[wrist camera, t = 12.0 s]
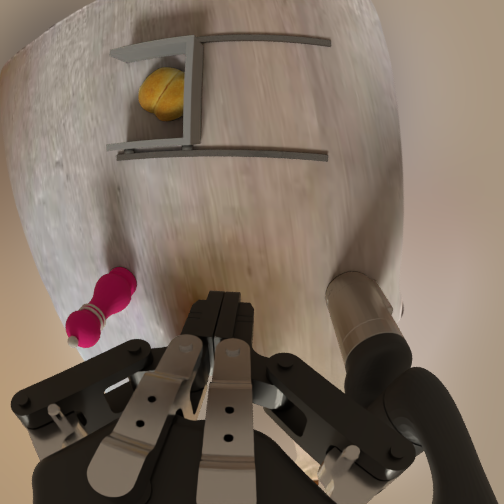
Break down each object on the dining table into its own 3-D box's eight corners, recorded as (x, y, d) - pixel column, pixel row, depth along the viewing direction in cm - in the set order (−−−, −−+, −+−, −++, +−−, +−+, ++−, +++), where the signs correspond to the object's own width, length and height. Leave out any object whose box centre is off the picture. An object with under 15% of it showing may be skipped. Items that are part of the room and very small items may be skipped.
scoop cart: (204, 42, 34) (194, 29, 28) (201, 149, 41) (190, 151, 35) (128, 53, 35) (110, 44, 29) (126, 153, 42) (106, 157, 36)
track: (330, 41, 33) (330, 40, 33) (326, 161, 41) (327, 161, 41) (121, 50, 34) (119, 49, 34) (118, 160, 42) (116, 160, 42)
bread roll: (176, 129, 40) (168, 129, 37) (135, 102, 39) (124, 100, 35) (208, 87, 38) (202, 83, 34) (165, 61, 36) (156, 55, 32)
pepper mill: (109, 259, 50) (49, 317, 31) (141, 271, 50) (89, 338, 32) (106, 289, 52) (54, 350, 34) (137, 301, 53) (91, 370, 35)
